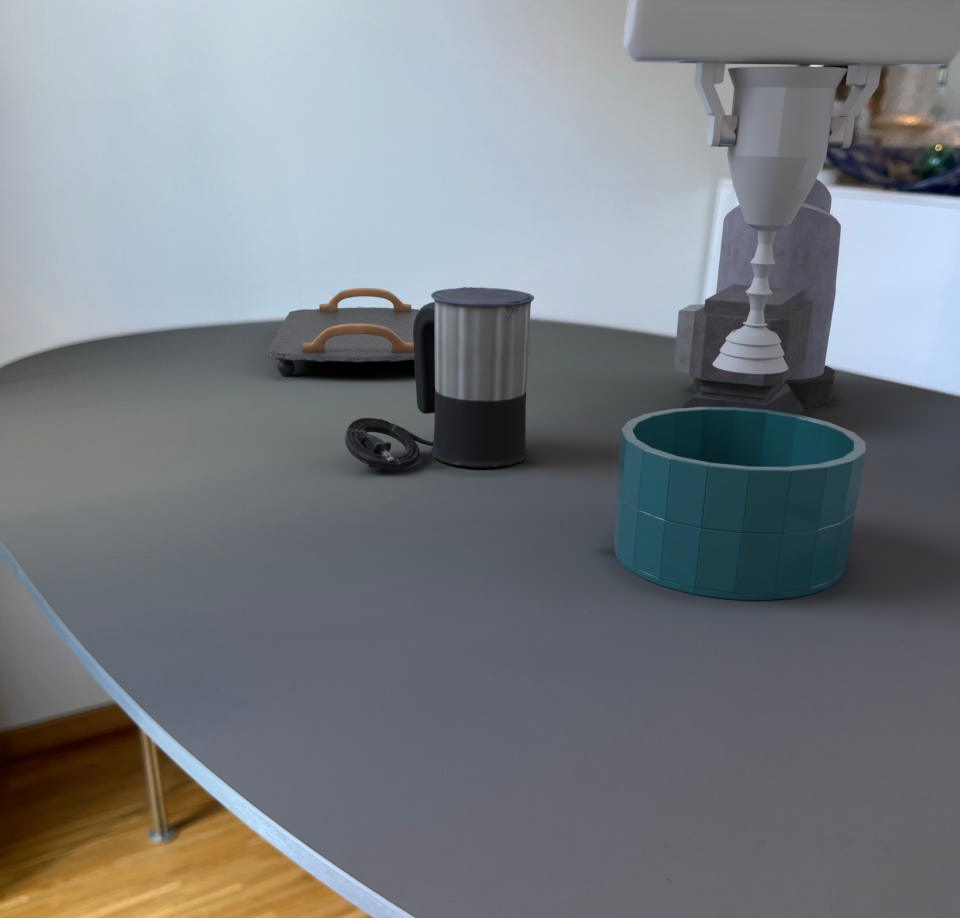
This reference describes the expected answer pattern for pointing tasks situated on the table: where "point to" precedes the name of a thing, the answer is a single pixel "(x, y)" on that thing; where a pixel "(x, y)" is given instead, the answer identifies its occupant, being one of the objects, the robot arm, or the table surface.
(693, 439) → the pot
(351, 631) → the table surface
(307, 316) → the serving tray
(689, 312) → the juicer
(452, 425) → the milk frother
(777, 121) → the chalice
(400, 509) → the table surface
